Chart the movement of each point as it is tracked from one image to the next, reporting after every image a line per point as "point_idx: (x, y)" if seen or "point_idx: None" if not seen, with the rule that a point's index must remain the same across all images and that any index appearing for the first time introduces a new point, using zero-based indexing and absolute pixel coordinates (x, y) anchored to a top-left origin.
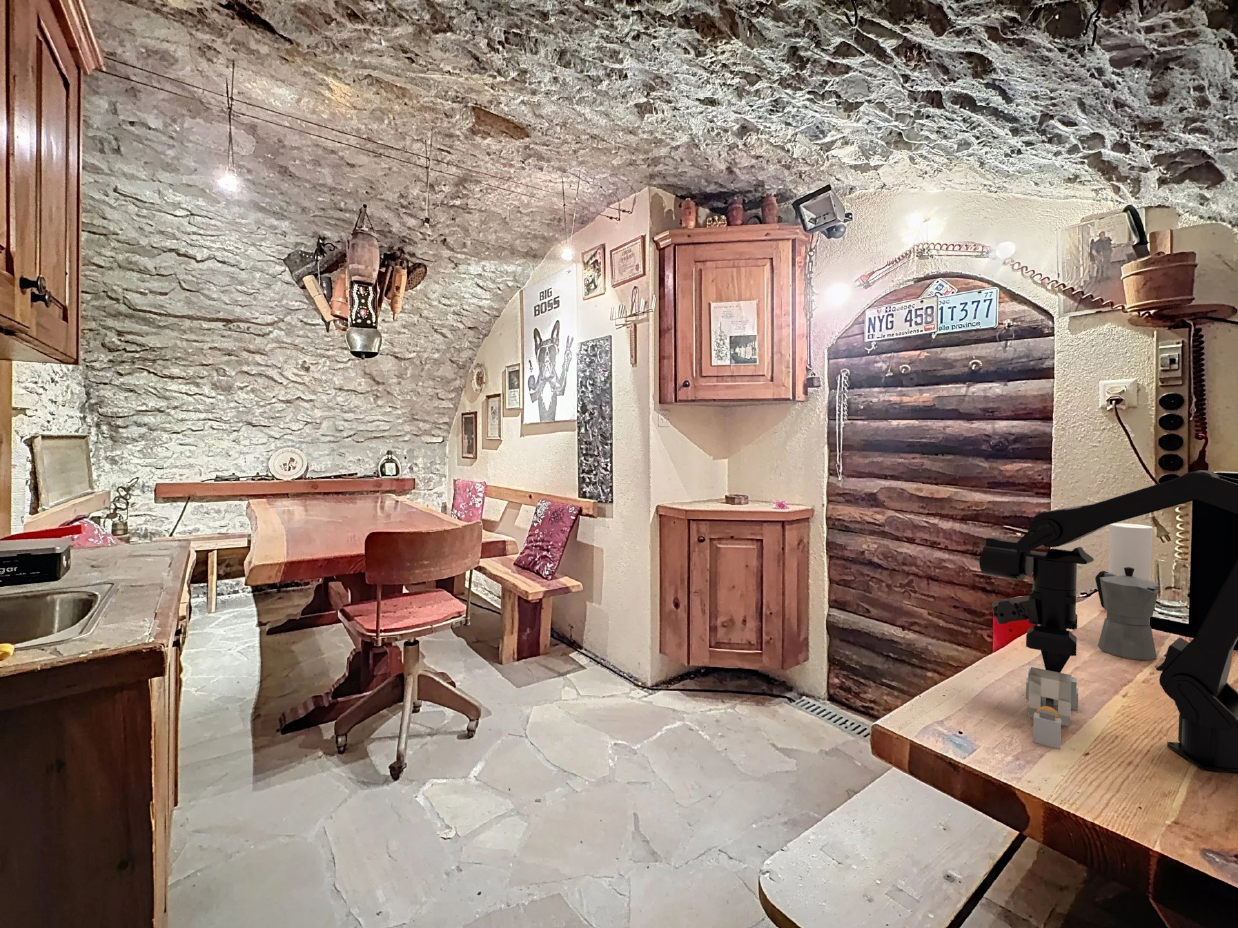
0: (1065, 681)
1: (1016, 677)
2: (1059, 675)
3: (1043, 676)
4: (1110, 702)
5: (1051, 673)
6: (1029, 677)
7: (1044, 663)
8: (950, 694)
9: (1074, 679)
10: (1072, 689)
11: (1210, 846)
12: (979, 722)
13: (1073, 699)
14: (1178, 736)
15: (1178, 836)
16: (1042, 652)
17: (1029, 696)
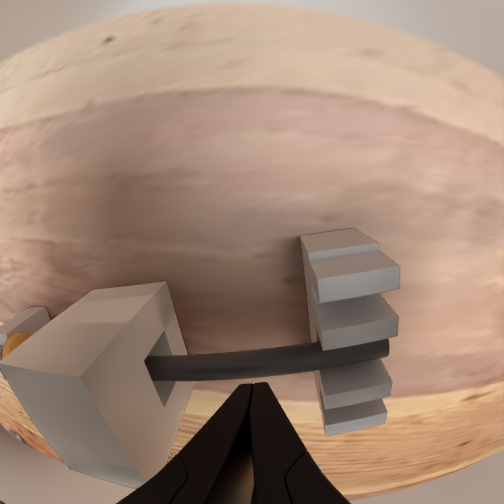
0: (68, 460)
1: (475, 170)
2: (102, 461)
3: (33, 409)
4: (423, 399)
5: (92, 443)
6: (5, 357)
7: (189, 441)
8: (128, 44)
9: (360, 424)
10: (322, 404)
11: (27, 440)
12: (19, 190)
13: (316, 383)
14: (253, 497)
15: (15, 425)
16: (126, 499)
17: (54, 320)
